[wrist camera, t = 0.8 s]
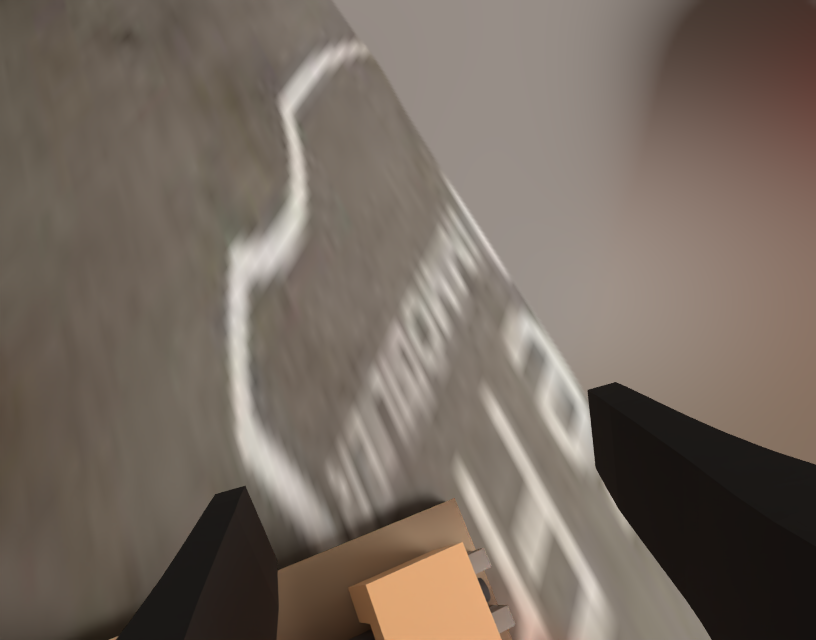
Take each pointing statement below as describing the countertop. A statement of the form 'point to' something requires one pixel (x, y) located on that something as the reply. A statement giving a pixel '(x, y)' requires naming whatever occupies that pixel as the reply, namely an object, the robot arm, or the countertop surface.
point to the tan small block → (426, 600)
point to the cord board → (362, 559)
